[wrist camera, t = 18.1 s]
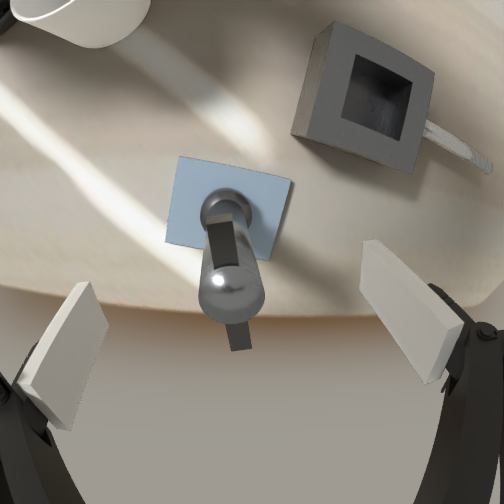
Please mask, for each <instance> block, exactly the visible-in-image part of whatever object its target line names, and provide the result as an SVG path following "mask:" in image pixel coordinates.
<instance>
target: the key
mask: <svg viewBox="0 0 504 504" xmlns="http://www.w3.org/2000/svg"><path fill="white" fill-rule="evenodd" d="M200 221H201V225H202V227H203V229H204V230H205V232H206V236H205V243H204V251H203V260H202V268H201V277H200V286H199V295H198V297H199V304H200V306H201V308H202V310H203V312H204V313H205V314H206V315H207V316H208V317H210V318H211V319H213V320H215V321H217V322H220V323H223V324H225V325H226V329H227V334H228V339H229V343H230V348H231V351H238V350H245V349H252V345H251V339H250V333H249V326H248V320H249V319H251V318H253V317H254V316H255V315H256V314H257V313H258V312H259V311H260V309H261V308H262V306H263V303H264V299H265V292H264V288H263V284H262V280H261V276H260V273H259V269H258V265H257V261H256V258H255V254H254V250H253V246H252V243H251V239H250V235H249V231H248V229H249V227H250V224H251V221H252V210H251V207H250V204H249V202H248V200H247V198H246V197H245V196H244V195H243V194H242V193H241V192H239V191H238V190H236V189H233V188H219V189H216V190H214V191H212V192H211V193H210V194H209V195H208V196H207V197H206V198H205V200H204V201H203V204H202V207H201V211H200Z"/></svg>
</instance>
